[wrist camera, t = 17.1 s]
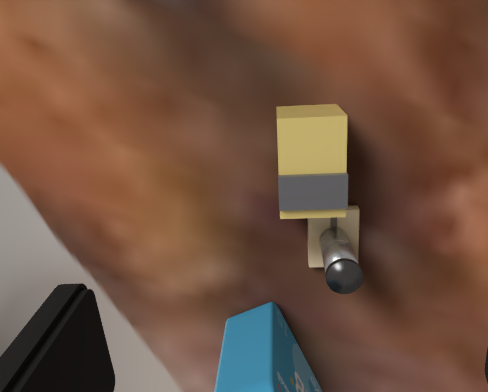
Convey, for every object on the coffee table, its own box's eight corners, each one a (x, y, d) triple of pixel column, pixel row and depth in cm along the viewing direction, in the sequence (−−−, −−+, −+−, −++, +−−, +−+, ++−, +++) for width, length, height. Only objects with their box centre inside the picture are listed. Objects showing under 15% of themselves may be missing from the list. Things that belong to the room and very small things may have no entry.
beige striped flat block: (307, 206, 37) (308, 211, 36) (357, 205, 36) (359, 210, 35) (308, 261, 38) (309, 267, 37) (355, 260, 38) (358, 266, 37)
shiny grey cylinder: (317, 227, 36) (325, 262, 30) (349, 225, 36) (363, 260, 30) (318, 255, 37) (326, 294, 31) (349, 253, 37) (363, 293, 31)
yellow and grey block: (275, 106, 34) (276, 120, 29) (336, 103, 34) (349, 116, 28) (278, 193, 37) (279, 221, 31) (336, 191, 36) (347, 219, 31)
